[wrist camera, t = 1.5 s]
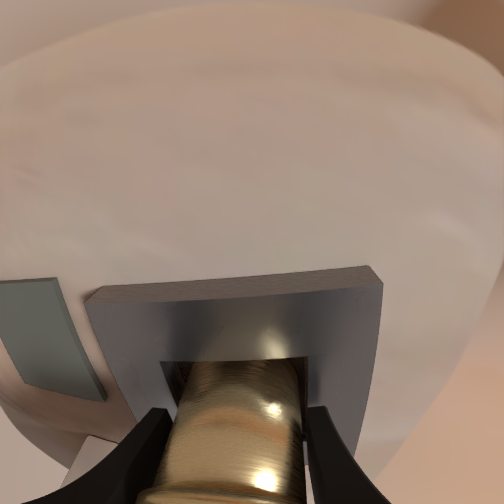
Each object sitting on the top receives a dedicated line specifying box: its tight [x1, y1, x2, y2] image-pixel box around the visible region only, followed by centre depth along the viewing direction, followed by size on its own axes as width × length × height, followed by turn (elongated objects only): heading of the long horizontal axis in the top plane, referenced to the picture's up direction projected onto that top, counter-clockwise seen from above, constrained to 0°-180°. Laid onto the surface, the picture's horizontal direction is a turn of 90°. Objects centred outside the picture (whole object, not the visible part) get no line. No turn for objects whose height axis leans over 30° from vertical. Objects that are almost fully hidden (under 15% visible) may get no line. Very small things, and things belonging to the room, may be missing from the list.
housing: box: [84, 266, 383, 465], centre depth 11 cm, size 10×10×2 cm
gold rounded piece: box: [135, 358, 307, 504], centre depth 8 cm, size 5×5×7 cm
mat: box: [0, 277, 108, 402], centre depth 12 cm, size 7×7×1 cm
